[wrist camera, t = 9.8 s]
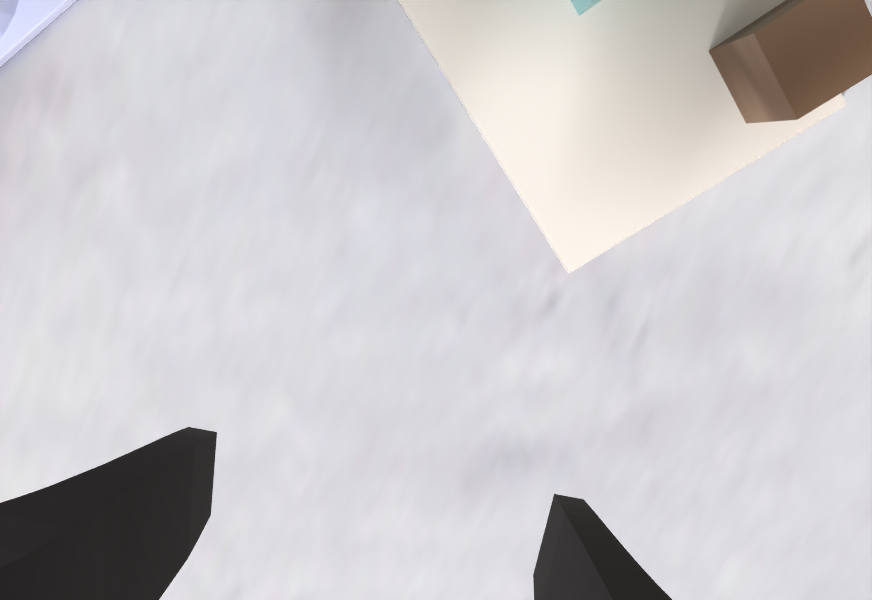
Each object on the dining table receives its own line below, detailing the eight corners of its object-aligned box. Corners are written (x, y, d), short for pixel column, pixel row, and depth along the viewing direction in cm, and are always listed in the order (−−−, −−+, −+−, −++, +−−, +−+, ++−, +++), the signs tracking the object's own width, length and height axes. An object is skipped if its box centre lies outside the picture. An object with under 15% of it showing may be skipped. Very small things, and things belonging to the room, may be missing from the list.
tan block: (708, 51, 18) (754, 33, 15) (787, -1, 17) (850, -30, 15) (746, 123, 18) (797, 119, 16) (824, 75, 18) (891, 61, 15)
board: (354, -70, 18) (351, -76, 18) (640, -299, 16) (646, -313, 16) (566, 270, 21) (568, 273, 20) (836, 106, 19) (846, 105, 18)
